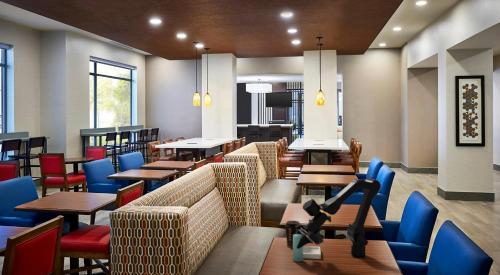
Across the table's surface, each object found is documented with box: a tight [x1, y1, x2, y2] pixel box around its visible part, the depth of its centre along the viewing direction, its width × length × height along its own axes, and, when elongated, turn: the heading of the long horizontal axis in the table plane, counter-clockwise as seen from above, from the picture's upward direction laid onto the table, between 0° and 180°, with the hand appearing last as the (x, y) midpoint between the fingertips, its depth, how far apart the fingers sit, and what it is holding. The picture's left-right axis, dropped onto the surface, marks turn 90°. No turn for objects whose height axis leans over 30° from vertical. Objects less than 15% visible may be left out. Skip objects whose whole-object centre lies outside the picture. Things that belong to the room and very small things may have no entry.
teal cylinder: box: [292, 234, 304, 263], centre depth 194 cm, size 5×5×12 cm
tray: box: [303, 245, 322, 260], centre depth 203 cm, size 12×12×2 cm
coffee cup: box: [284, 220, 301, 249], centre depth 216 cm, size 9×8×13 cm
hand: (295, 246), depth 194 cm, fingers closed on teal cylinder, 5 cm apart
